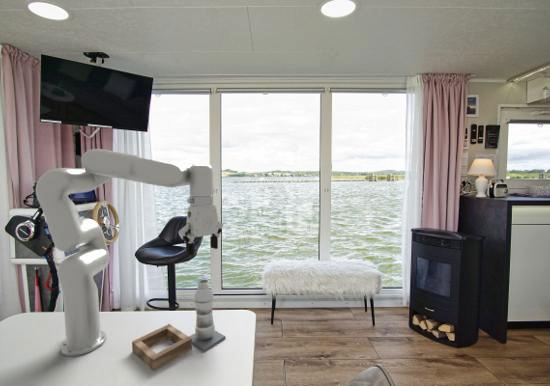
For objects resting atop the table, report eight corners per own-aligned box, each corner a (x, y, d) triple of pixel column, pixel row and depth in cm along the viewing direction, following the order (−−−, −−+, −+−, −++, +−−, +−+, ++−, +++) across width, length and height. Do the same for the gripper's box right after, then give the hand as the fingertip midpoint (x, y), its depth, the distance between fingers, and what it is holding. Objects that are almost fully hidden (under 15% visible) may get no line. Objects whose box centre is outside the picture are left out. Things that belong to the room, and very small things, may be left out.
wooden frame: (132, 351, 88) (132, 341, 88) (169, 333, 98) (169, 323, 98) (153, 371, 79) (153, 359, 79) (192, 348, 89) (191, 338, 89)
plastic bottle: (210, 343, 90) (208, 285, 89) (191, 341, 92) (189, 284, 90) (218, 332, 97) (216, 278, 95) (200, 330, 98) (198, 277, 97)
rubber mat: (186, 340, 94) (186, 337, 94) (207, 328, 101) (207, 326, 101) (204, 351, 88) (204, 349, 88) (225, 338, 95) (225, 336, 95)
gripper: (185, 204, 82) (186, 259, 83) (228, 200, 95) (229, 247, 96) (171, 202, 86) (173, 255, 88) (215, 198, 100) (215, 244, 101)
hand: (202, 251), depth 92 cm, fingers open, 9 cm apart
